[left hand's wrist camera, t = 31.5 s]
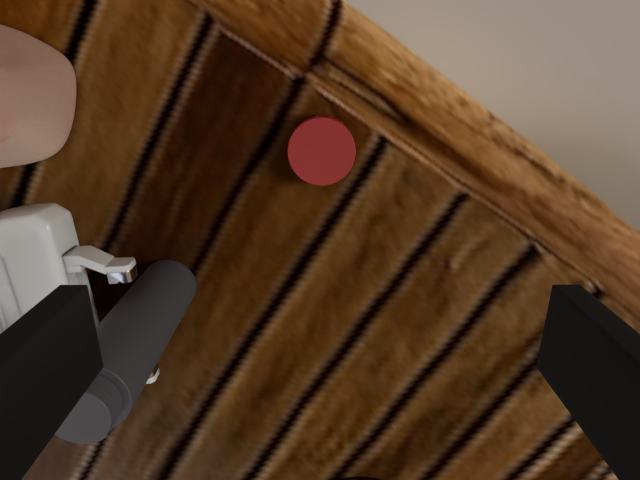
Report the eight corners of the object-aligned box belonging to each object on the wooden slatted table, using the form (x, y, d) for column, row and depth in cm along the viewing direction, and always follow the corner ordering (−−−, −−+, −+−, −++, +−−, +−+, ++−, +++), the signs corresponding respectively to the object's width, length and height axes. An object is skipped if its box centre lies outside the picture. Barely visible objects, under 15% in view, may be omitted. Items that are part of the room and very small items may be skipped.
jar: (131, 279, 43) (13, 411, 27) (170, 249, 42) (72, 367, 25) (169, 316, 45) (79, 463, 28) (207, 288, 43) (138, 424, 27)
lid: (275, 135, 38) (273, 138, 36) (334, 101, 37) (335, 102, 35) (308, 192, 40) (308, 198, 38) (366, 161, 39) (368, 165, 37)
